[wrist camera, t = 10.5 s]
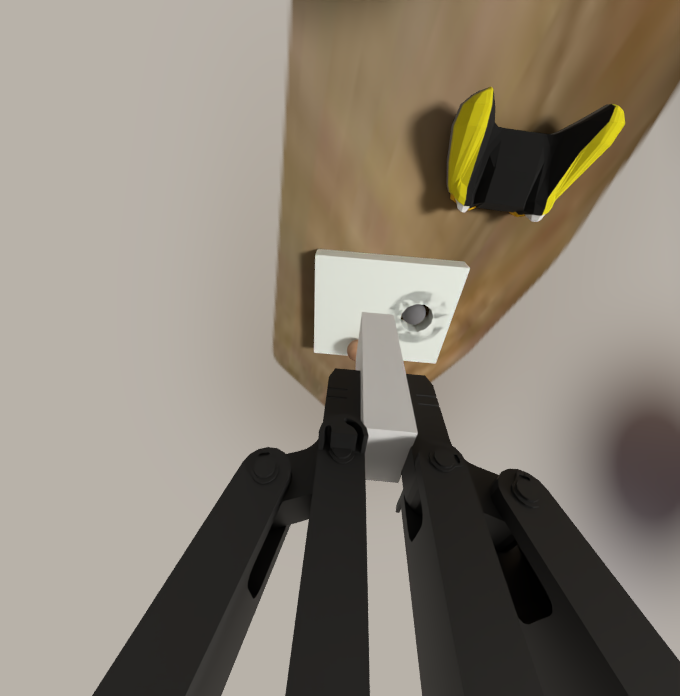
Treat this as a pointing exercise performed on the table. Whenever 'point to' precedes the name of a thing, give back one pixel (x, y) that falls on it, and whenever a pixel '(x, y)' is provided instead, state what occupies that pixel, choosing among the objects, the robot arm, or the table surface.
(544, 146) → the gaming controller
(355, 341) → the wood ball
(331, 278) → the plate
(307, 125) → the table surface
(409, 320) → the ball
